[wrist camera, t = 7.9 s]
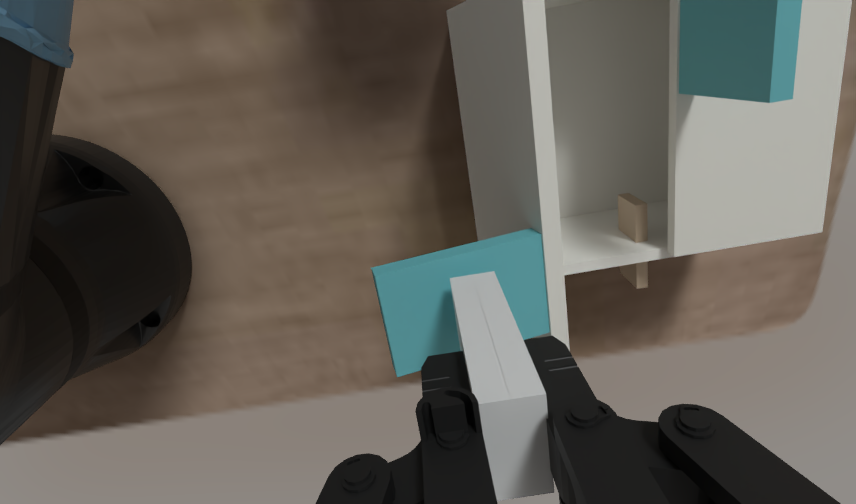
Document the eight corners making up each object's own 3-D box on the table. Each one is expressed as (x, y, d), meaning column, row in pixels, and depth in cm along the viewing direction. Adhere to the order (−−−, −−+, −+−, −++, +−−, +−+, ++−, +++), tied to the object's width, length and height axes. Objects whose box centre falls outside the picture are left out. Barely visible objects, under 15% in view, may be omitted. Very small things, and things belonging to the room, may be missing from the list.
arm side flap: (496, 281, 26) (372, 314, 25) (461, 8, 21) (307, 32, 20) (569, 353, 19) (403, 404, 18) (542, -29, 14) (314, 5, 13)
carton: (486, 266, 35) (508, 321, 27) (452, 14, 29) (469, -4, 22) (713, 228, 34) (798, 273, 27) (724, -35, 29) (837, -70, 21)
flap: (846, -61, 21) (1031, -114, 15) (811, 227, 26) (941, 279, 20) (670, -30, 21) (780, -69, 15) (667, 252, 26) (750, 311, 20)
